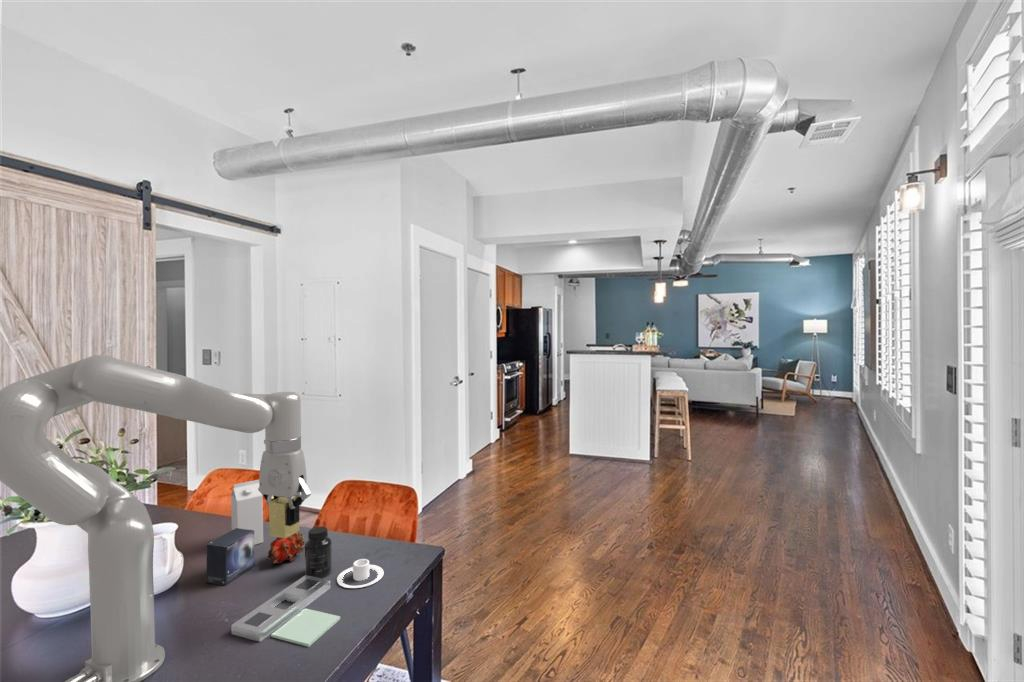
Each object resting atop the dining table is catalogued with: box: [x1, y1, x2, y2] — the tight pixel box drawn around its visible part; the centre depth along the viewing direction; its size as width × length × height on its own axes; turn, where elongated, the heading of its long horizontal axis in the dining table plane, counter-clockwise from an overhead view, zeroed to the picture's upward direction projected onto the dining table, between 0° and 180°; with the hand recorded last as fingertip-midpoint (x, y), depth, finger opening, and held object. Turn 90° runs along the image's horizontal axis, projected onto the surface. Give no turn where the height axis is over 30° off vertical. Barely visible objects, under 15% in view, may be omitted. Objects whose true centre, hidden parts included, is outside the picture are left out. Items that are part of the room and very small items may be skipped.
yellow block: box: [268, 496, 301, 539], centre depth 112 cm, size 4×4×8 cm
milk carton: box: [230, 479, 264, 546], centre depth 147 cm, size 7×7×19 cm
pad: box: [270, 607, 341, 648], centre depth 106 cm, size 10×10×1 cm
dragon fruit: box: [267, 531, 305, 565], centre depth 136 cm, size 8×8×12 cm
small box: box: [206, 528, 255, 586], centre depth 128 cm, size 11×6×10 cm, turn 168°
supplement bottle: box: [304, 526, 333, 579], centre depth 129 cm, size 7×7×12 cm
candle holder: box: [336, 558, 385, 589], centre depth 127 cm, size 12×12×4 cm
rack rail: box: [230, 574, 331, 642], centre depth 113 cm, size 22×8×2 cm, turn 161°
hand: (284, 521), depth 112 cm, fingers closed on yellow block, 4 cm apart
